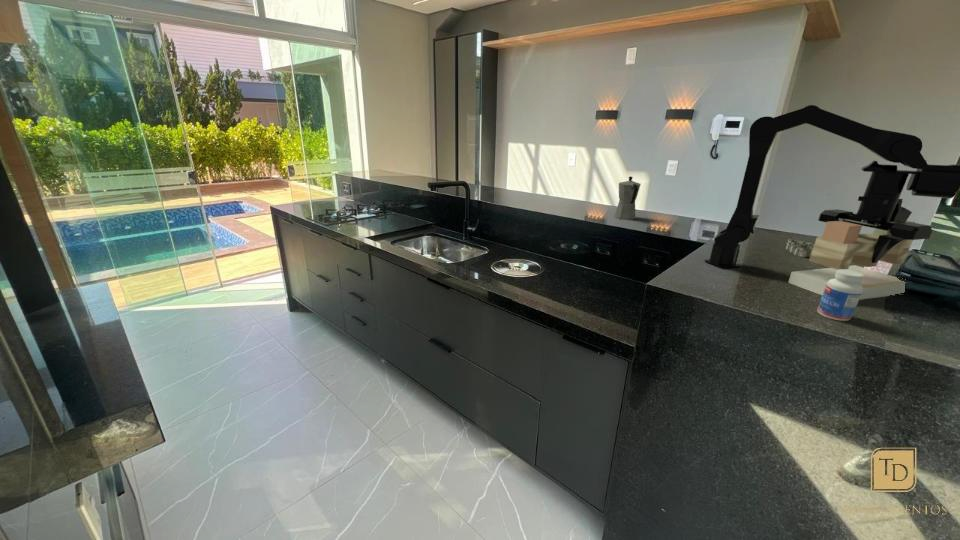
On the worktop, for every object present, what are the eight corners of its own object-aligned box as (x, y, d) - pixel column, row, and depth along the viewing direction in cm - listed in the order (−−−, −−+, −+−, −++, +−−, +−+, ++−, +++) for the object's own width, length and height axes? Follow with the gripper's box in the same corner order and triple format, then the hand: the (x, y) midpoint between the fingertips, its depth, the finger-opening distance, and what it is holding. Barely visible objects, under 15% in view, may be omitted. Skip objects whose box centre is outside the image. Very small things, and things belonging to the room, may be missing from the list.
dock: (840, 302, 85) (845, 289, 84) (788, 282, 96) (791, 271, 95) (908, 293, 90) (913, 281, 89) (851, 275, 101) (855, 264, 100)
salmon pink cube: (842, 243, 84) (849, 226, 83) (821, 238, 88) (827, 221, 87) (855, 242, 85) (862, 225, 84) (834, 237, 89) (839, 220, 88)
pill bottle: (809, 310, 81) (824, 267, 78) (832, 309, 81) (848, 267, 78) (834, 322, 76) (851, 277, 72) (858, 321, 76) (876, 277, 73)
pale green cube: (896, 239, 88) (903, 222, 87) (873, 234, 92) (879, 218, 91) (907, 238, 89) (915, 221, 88) (884, 233, 93) (891, 217, 92)
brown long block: (838, 270, 85) (848, 244, 83) (808, 260, 91) (816, 237, 89) (902, 263, 90) (913, 239, 88) (870, 255, 96) (879, 232, 94)
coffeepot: (609, 214, 174) (615, 174, 167) (630, 214, 173) (636, 175, 167) (620, 221, 159) (626, 178, 153) (642, 222, 159) (649, 179, 153)
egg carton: (823, 260, 114) (828, 247, 112) (793, 257, 117) (797, 244, 115) (810, 250, 123) (814, 238, 122) (783, 247, 126) (786, 236, 124)
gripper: (964, 199, 78) (931, 268, 84) (860, 186, 95) (838, 245, 101) (927, 200, 76) (896, 272, 81) (827, 187, 92) (807, 247, 98)
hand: (857, 258), depth 90 cm, fingers closed on brown long block, 6 cm apart
